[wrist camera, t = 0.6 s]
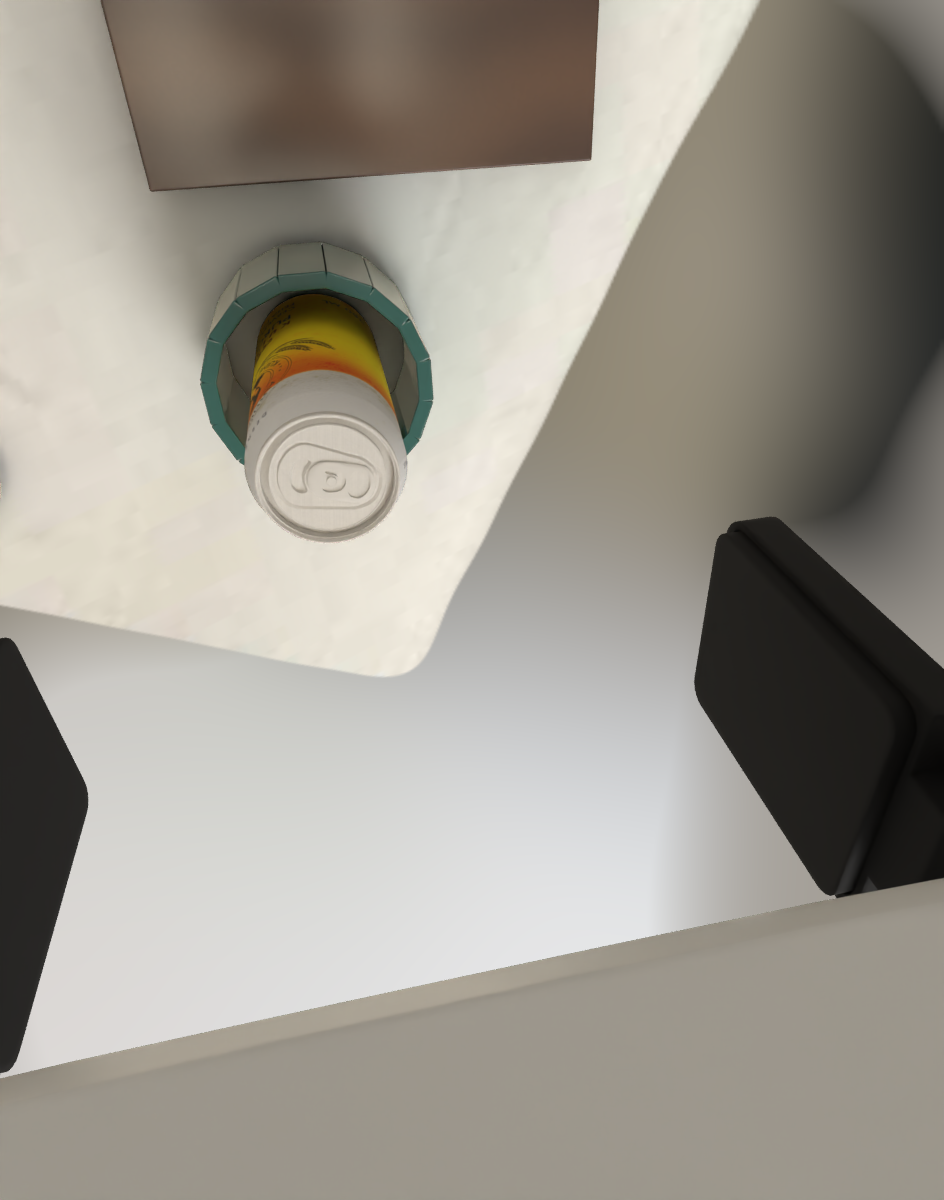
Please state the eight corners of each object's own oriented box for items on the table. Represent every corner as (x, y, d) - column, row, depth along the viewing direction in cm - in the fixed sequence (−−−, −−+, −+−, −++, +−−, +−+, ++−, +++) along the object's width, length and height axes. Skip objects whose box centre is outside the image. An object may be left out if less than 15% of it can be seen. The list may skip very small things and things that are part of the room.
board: (58, -193, 27) (47, -204, 26) (597, -197, 30) (610, -207, 28) (154, 186, 34) (149, 192, 33) (581, 156, 37) (591, 160, 36)
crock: (189, 252, 36) (173, 284, 31) (406, 234, 37) (423, 262, 33) (238, 452, 42) (231, 505, 38) (423, 431, 44) (439, 479, 39)
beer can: (262, 278, 37) (249, 389, 25) (384, 303, 39) (426, 417, 27) (252, 396, 41) (236, 543, 29) (365, 413, 42) (394, 559, 30)
